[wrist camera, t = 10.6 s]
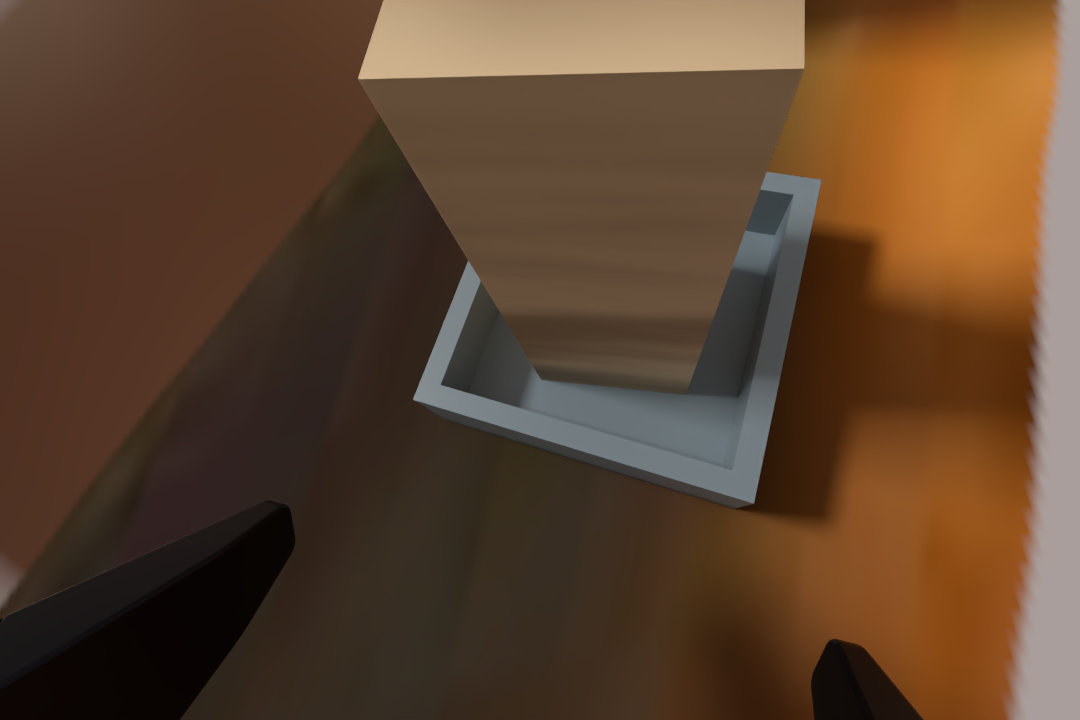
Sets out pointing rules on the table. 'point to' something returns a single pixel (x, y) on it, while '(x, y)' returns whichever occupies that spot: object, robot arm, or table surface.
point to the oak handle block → (593, 160)
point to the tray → (637, 415)
